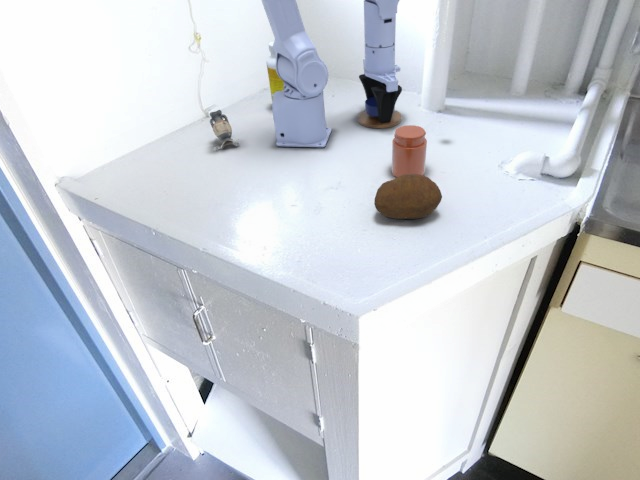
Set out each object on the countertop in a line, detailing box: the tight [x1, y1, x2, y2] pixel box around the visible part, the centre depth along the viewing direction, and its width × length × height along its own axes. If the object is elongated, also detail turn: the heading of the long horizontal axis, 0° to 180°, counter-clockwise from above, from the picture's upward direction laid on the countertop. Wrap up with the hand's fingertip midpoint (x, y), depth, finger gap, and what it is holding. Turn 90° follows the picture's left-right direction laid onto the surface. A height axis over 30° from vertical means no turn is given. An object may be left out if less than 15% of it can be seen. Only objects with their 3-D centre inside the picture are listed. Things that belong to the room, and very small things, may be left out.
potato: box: [373, 174, 443, 220], centre depth 68 cm, size 7×10×6 cm
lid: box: [364, 97, 396, 117], centre depth 95 cm, size 6×6×2 cm
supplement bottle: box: [265, 40, 284, 101], centre depth 99 cm, size 7×7×13 cm
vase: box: [209, 109, 241, 152], centre depth 89 cm, size 5×5×6 cm
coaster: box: [357, 110, 403, 129], centre depth 96 cm, size 9×9×1 cm
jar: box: [391, 124, 428, 178], centre depth 78 cm, size 6×6×7 cm
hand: (379, 116), depth 96 cm, fingers closed on lid, 6 cm apart
